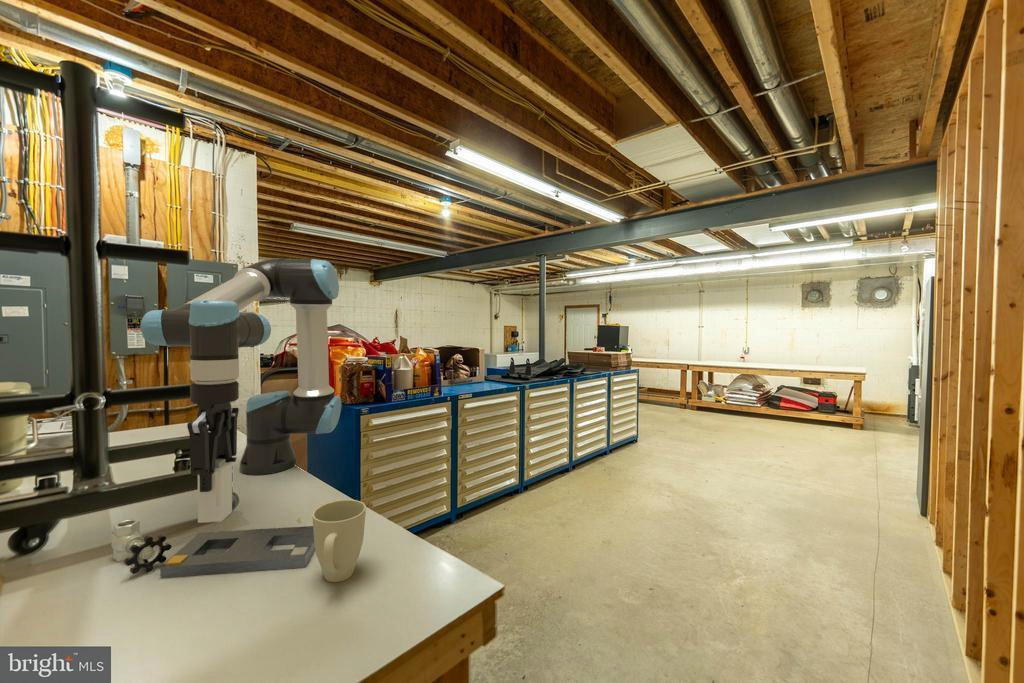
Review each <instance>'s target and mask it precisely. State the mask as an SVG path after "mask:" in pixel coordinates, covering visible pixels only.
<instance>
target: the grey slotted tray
mask: <svg viewBox="0 0 1024 683" xmlns="http://www.w3.org/2000/svg"><path fill="white" fill-rule="evenodd" d="M281 545H282V546H283V545H294V546H293V548H287V549H285V548H284V549H272V548H273V546H281ZM223 549H227V550H226V551H225V552H223V553H212V554H205V553H207V551H208V550H223ZM271 549H272V550H271ZM315 551H316V550H315V543H314V530H313V525H309V526H307V525H306V526H292V527H290V526H289V527H275V528H258V529H257V528H256V529H255V528H253V529H241V530H222V531H208V532H207V531H205V532H199V533H198V534H196V535H194V537H193V538H192V539H191V540H190V541H188V542H187V543H186V544H185V545H184V546H182V547H181V549H179V550H178V551H177V552H176V553H175V554H174V555H172V556H171V557H170V558H168V560H167V561H165V562H164V563H162V565H161V566H160V567H159V570H160V571H159V572H160V573H159V575H160V576H159V577H160V579H166V578H168V579H169V578H181V577H194V576H209V575H220V574H223V575H224V574H232V573H235V574H237V573H246V572H247V573H249V572H261V571H273V570H286V569H287V570H288V569H299V568H300V569H301V568H306V567H307V565H308V563H309V561H310V560H311V558H312V556H313V554H314V553H315Z"/></svg>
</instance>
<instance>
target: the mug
mask: <svg viewBox="0 0 1024 683" xmlns="http://www.w3.org/2000/svg"><path fill="white" fill-rule="evenodd" d="M366 511H367V507H366V503H364V502H362V501H360V500H357V499H339V500H333V501H331V502H326V503H324V504H322V505H320V506H318V507H317V508H316V509H315V510H314V511H313V512H312V526H313V530H314V543H315V550H314V551H315V554H316V557H317V560H318V563H319V565H320V568H321V571H322V573H323V576H324V578H325V579H324V580H326V581H327V582H329V583H339V582H343V581H345V580H347V579H349V578H351V576H353V574H354V572H355V568H356V565H357V562H358V559H359V557H360V553H361V551H362V546H363V542H364V535H365V523H366Z"/></svg>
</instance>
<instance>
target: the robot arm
mask: <svg viewBox="0 0 1024 683" xmlns="http://www.w3.org/2000/svg"><path fill="white" fill-rule="evenodd" d="M339 291H340V286H339V278H338V274H337V271H336V269H335V267H334V266H333V264H332V263H331V262H329V261H327V260H324V259H322V260H321V259H315V258H312V259H311V258H309V259H307V258H284V257H283V258H282V257H274V258H268V259H264V260H261V261H258V262H255V263H252V264H250V265H247V266H245V267H242V268H241V269H239V270H238V271H237V272H236V273H235V274H234V275H233V277H232V278H230V279H228V280H227V281H225V282H223V283H221V284H219V285H218V286H216V287H214V288H212V289H210V290H208V291H207V292H205V293H203V294H201V295H199V296H197V297H195V298H193V299H191V300H190V301H188V302H185V303H184V304H182V305H180V306H177V307H176V308H174V309H168V310H167V309H161V310H160V309H156V310H155V309H154V310H150V311H148V312H146V313H145V314H144V316H142V318H141V322H140V326H139V327H140V328H139V329H140V331H141V336H142V338H143V339H144V341H146V343H148V344H150V345H153V346H164V347H169V348H170V347H190V348H189V349H190V352H189V353H190V355H189V360H190V362H189V364H188V368H189V370H190V371H189V372H190V374H189V375H190V376H189V378H190V381H192V383H191V384H190V385H189V401H190V403H191V404H193V405H197V406H198V410H197V414H196V418H197V419H195V420H194V421H188V422H187V424H186V428H187V431H188V434H189V459H190V474H191V475H192V476H194V475H195V476H198V475H199V508H211V507H217V506H218V472H214V471H215V462H216V459H225V463H230V462H232V463H235V462H236V461H237V457H235V456H236V455H237V454H238V453H237V452H238V451H237V450H238V445H237V444H238V437H237V436H238V417H239V416H238V415H239V413H240V412H239V411H240V409H239V408H238V407H232V403H233V402H237V400H239V396H240V394H239V392H240V391H239V389H240V387H239V386H240V385H239V384H240V383H239V382H238V381H237V379H239V378H240V363H239V362H240V360H239V349H240V348H254V347H257V346H260V345H261V346H262V345H263V344H265V343H266V342H267V341H268V340H269V339H270V337H271V334H272V327H271V324H270V321H269V319H267V317H265V316H264V315H262V314H259V313H255V312H254V311H253V312H252V311H251V312H248V311H246V312H245V311H244V312H243V311H242V310H243V309H245V308H246V307H247V306H249V305H250V304H252V303H253V302H260V301H262V300H265V299H266V298H289V305H290V306H292V308H294V310H295V325H296V326H295V327H296V350H297V351H296V352H297V357H296V358H297V375H298V376H297V380H298V381H297V382H298V384H297V385H298V387H297V388H296V389H295V390H294V391H293V394H291V392H290V391H289V390H279V391H272V392H265V393H260V394H255V395H253V396H250V397H249V398H248V399H247V401H246V409H245V414H246V415H245V416H246V421H245V422H246V424H245V425H246V445H245V447H244V450H243V454H242V456H241V459H240V461H239V472H240V473H242V474H244V475H251V476H252V475H253V476H257V475H258V476H259V475H269V474H270V475H271V474H276V473H280V472H283V471H285V470H288V469H291V468H293V467H294V466H295V465H296V463H297V455H296V453H295V450H294V448H293V445H292V442H291V435H292V434H293V435H296V434H304V435H305V434H311V435H312V434H313V435H319V434H330V433H332V432H333V431H334V430H335V428H336V427H337V425H338V423H339V420H340V416H341V411H342V398H341V397H340V396H338V395H335V389H334V388H333V387H332V386H330V378H329V377H330V376H329V375H330V374H329V373H330V372H329V369H330V368H329V339H328V338H329V335H328V333H329V332H328V310H329V309H330V307H332V306H333V300H336V299H337V298H338V296H339ZM241 311H242V312H241ZM293 465H294V466H293Z"/></svg>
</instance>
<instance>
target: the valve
mask: <svg viewBox="0 0 1024 683" xmlns="http://www.w3.org/2000/svg"><path fill="white" fill-rule="evenodd" d="M140 524H141V522H140V520H139V519H138V518H129V519H125V520H121V521H118V522H117V523H115V524H114V525H113V526H112V534H113V537H112V539H111V547H112V549H113V551H112V552H113V558H112V559H113V560H115V561H116V562H123V565H125V566H127V567H130V566H132V565H133V567H130V569H129V573H130V574H132V575H135V574H138V573H139V572H140V571H141V569H143V571H144V572H145V573H147V574H149V573H151V572H152V571H154V568H155V567H154V565H155V564H156V563H160V564H164V563H166V562H167V561H166V560H167V557H166V556H165V555H164V553H165V552H167V551H168V552H169V551H170V550H171V548H172V547H173V546H172V545H171V543H169V542H166V543H165V544H163V543H164V542H165V541H166V540H167V537H166V536H165V535H163V534H161V535H159V536H157V539H156V540H154V537H153V536H152V535H150V534H149V535H146V536H145V537H142V533H141V530H140V529H141V528H140V527H141V525H140ZM156 546H158V548H159V549H158V553H157V555H156V557H155V558H153V557H154V556H155V553H156V552H155V549H154V547H156ZM138 557H139V558H140V559H142V561H143V563H140V562H139V561H138V560H139V559H138ZM151 558H152V560H150V559H151ZM149 560H150V561H149Z"/></svg>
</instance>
